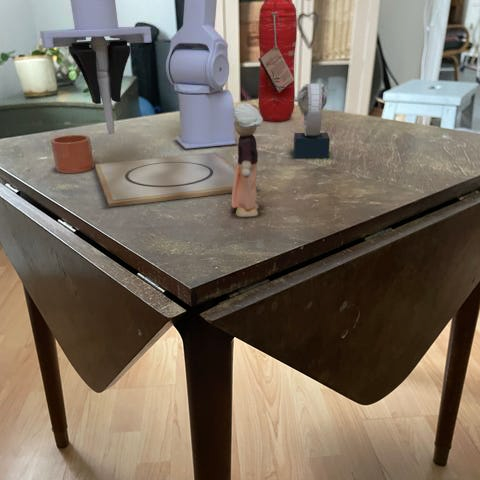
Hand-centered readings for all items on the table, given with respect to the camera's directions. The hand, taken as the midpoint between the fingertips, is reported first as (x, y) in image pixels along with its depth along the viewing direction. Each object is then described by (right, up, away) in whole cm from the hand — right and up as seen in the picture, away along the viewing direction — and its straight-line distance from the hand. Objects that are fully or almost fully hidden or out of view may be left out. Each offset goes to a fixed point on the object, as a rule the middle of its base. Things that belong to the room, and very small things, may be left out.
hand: (106, 101), depth 77 cm
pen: (0, -4, +2) cm, 5 cm away
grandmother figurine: (+20, -18, -10) cm, 29 cm away
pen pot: (-7, -7, +9) cm, 13 cm away
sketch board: (+9, -10, +3) cm, 14 cm away
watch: (+31, -4, +14) cm, 34 cm away
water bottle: (+27, +11, +39) cm, 48 cm away
